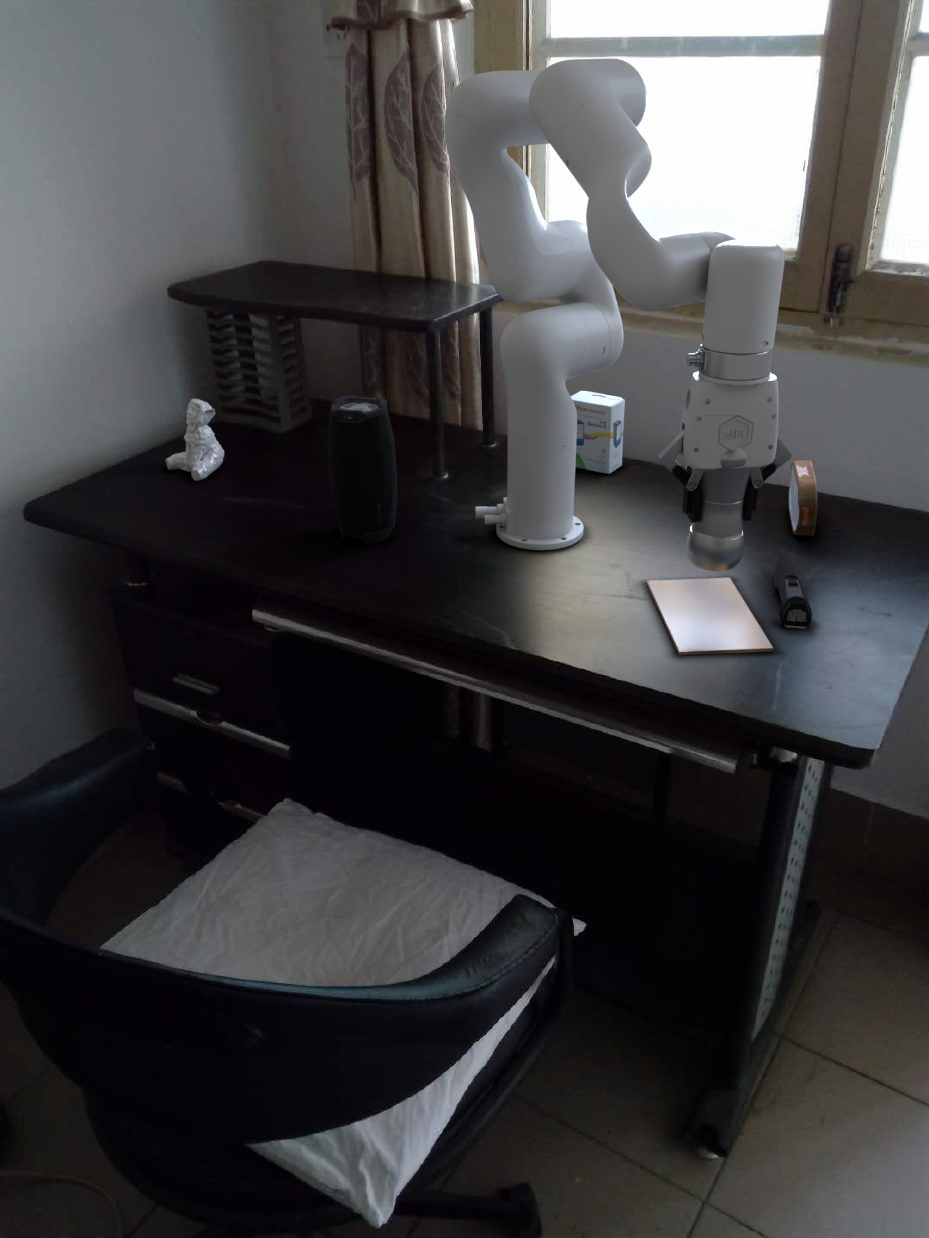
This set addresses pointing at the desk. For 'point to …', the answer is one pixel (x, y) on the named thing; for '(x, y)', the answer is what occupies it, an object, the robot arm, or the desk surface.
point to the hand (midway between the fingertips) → (717, 515)
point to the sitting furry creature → (198, 443)
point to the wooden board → (707, 617)
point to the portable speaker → (362, 468)
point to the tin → (803, 498)
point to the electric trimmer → (791, 594)
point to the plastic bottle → (720, 515)
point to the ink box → (599, 431)
